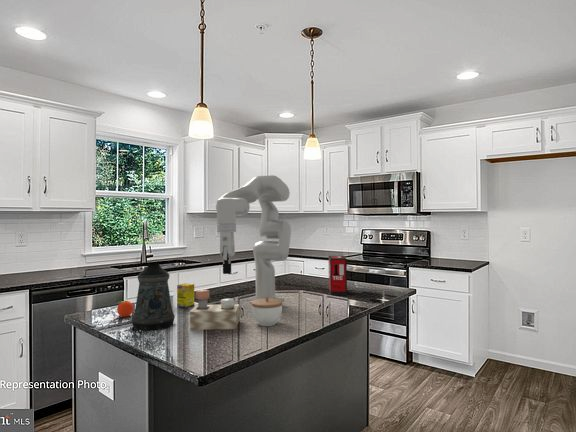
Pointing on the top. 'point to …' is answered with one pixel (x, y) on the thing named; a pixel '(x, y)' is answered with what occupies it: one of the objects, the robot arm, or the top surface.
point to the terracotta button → (202, 299)
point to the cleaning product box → (337, 275)
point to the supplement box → (185, 295)
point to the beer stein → (153, 300)
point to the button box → (214, 318)
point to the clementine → (125, 308)
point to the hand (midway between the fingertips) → (227, 273)
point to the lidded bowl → (267, 311)
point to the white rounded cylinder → (227, 303)
